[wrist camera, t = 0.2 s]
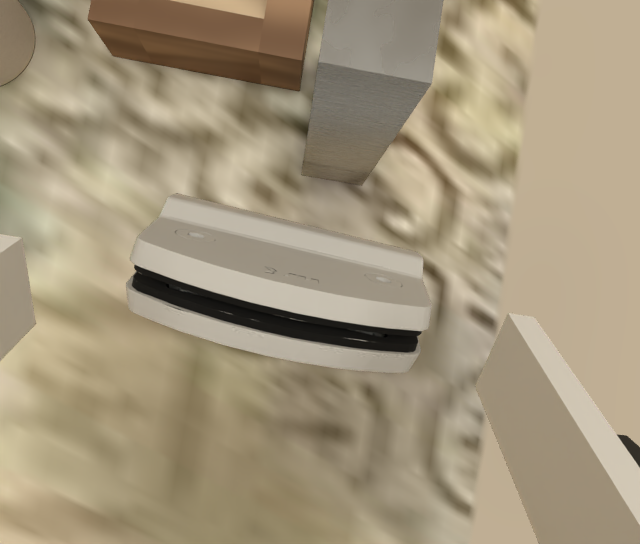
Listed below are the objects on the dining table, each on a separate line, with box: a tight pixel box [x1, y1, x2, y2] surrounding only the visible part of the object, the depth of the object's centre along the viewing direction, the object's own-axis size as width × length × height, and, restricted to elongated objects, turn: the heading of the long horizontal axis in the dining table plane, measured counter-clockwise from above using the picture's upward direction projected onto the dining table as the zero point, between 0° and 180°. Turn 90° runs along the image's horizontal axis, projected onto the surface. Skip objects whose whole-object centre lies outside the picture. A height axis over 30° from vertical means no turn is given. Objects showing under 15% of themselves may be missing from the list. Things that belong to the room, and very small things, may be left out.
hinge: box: [126, 193, 432, 373], centre depth 25 cm, size 17×5×10 cm, turn 77°
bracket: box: [301, 0, 443, 186], centre depth 23 cm, size 8×4×14 cm, turn 171°
